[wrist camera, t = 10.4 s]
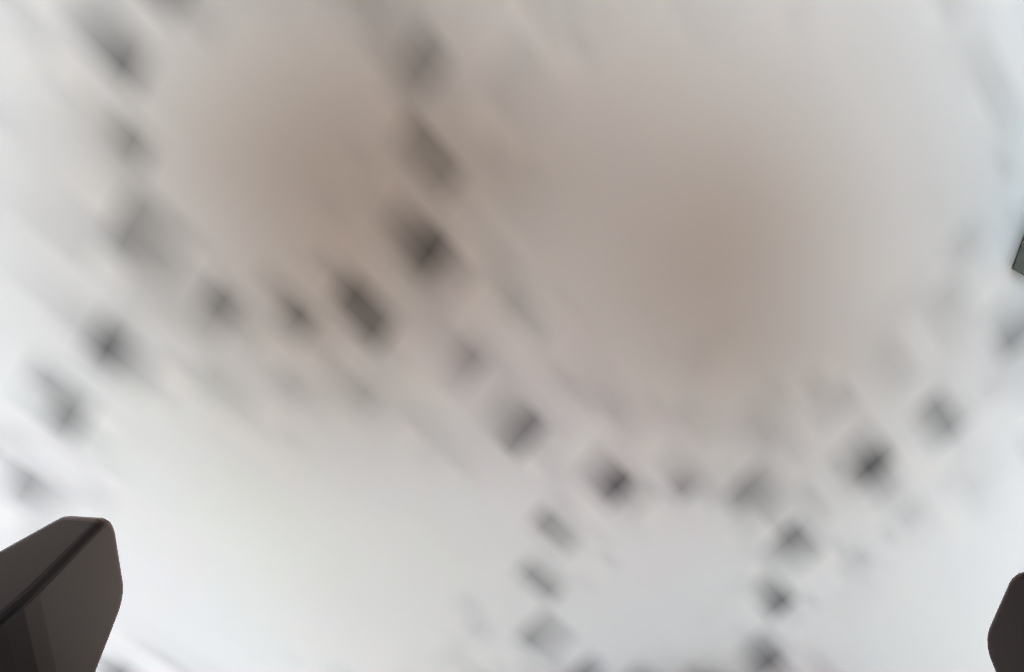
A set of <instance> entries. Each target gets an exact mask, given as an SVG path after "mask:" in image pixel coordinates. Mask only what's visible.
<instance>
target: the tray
mask: <svg viewBox="0 0 1024 672" xmlns="http://www.w3.org/2000/svg"><path fill="white" fill-rule="evenodd" d="M1013 269H1014V270H1016V271H1017V272H1019V273H1021V274H1022V275H1024V239H1023V242H1022V244H1021V247H1020V250H1019V253H1018V255H1017V258H1016V261H1015V264H1014V266H1013Z"/></svg>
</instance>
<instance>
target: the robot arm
mask: <svg viewBox="0 0 1024 672" xmlns="http://www.w3.org/2000/svg"><path fill="white" fill-rule="evenodd" d="M122 594H123V582H122V575H121V569H120V563H119V557H118V550H117V544H116V538H115V532H114V529H113V526H112V525H111V523H110V522H109V521H108V520H106V519H104V518H94V517H77V516H68V517H63V518H60V519H58V520H56V521H54V522H52V523H51V524H49V525H47V526H45V527H43V528H42V529H40V530H38V531H36V532H34V533H33V534H31V535H29V536H27V537H25V538H24V539H22V540H20V541H18V542H16V543H15V544H13V545H11V546H9V547H7V548H6V549H4V550H2V551H0V672H95V671H96V668H97V666H98V663H99V661H100V658H101V655H102V653H103V650H104V648H105V645H106V642H107V640H108V637H109V635H110V632H111V630H112V627H113V624H114V622H115V619H116V617H117V614H118V611H119V608H120V605H121V601H122ZM988 650H989V654H990V658H991V660H992V663H993V665H994V668H995V670H996V672H1024V572H1022V573H1019V574H1017V575H1016V576H1015V577H1014V578H1013V579H1012V580H1011V582H1010V583H1009V585H1008V588H1007V590H1006V592H1005V594H1004V597H1003V599H1002V601H1001V604H1000V606H999V608H998V610H997V613H996V615H995V617H994V619H993V622H992V624H991V626H990V629H989V632H988Z"/></svg>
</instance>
